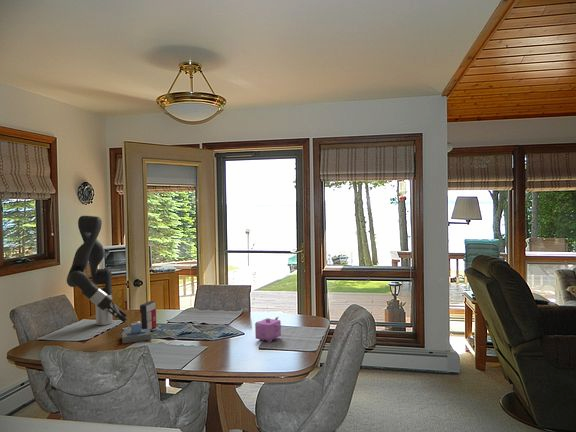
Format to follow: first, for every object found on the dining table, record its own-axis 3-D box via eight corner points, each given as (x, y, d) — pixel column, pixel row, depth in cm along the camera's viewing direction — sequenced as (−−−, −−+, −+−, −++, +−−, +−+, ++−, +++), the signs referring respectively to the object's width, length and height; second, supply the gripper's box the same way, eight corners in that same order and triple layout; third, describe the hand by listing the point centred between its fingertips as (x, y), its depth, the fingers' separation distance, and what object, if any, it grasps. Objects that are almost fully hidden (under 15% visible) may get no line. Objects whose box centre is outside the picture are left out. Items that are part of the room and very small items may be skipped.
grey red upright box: (147, 332, 250) (146, 305, 249) (140, 331, 251) (139, 305, 250) (157, 326, 260) (156, 301, 260) (150, 326, 261) (149, 301, 261)
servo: (127, 338, 239) (127, 322, 238) (145, 336, 242) (144, 320, 241) (127, 340, 235) (126, 324, 235) (145, 338, 238) (144, 322, 238)
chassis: (122, 337, 242) (122, 331, 241) (149, 333, 246) (149, 328, 246) (122, 343, 230) (122, 337, 230) (150, 339, 235) (150, 334, 235)
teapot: (283, 343, 224) (283, 321, 223) (256, 345, 221) (256, 323, 221) (279, 334, 239) (278, 314, 238) (254, 336, 236) (253, 316, 236)
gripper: (105, 296, 226) (130, 316, 230) (107, 291, 240) (130, 310, 244) (94, 307, 225) (120, 327, 229) (96, 302, 238) (120, 320, 242)
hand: (125, 318), depth 236 cm, fingers open, 8 cm apart
